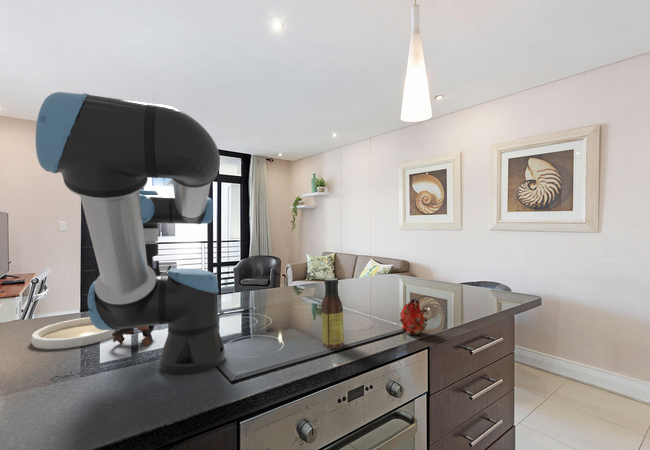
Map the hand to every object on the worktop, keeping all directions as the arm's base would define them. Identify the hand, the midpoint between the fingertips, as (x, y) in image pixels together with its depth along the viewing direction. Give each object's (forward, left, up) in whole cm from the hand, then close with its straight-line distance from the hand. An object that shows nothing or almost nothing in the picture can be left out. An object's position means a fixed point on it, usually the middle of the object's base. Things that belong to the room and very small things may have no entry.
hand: (143, 314), depth 93 cm
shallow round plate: (+23, +9, -9) cm, 26 cm away
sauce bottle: (-45, -33, -9) cm, 57 cm away
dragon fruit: (-60, -56, -9) cm, 83 cm away
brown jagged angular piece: (+1, 0, -10) cm, 10 cm away
